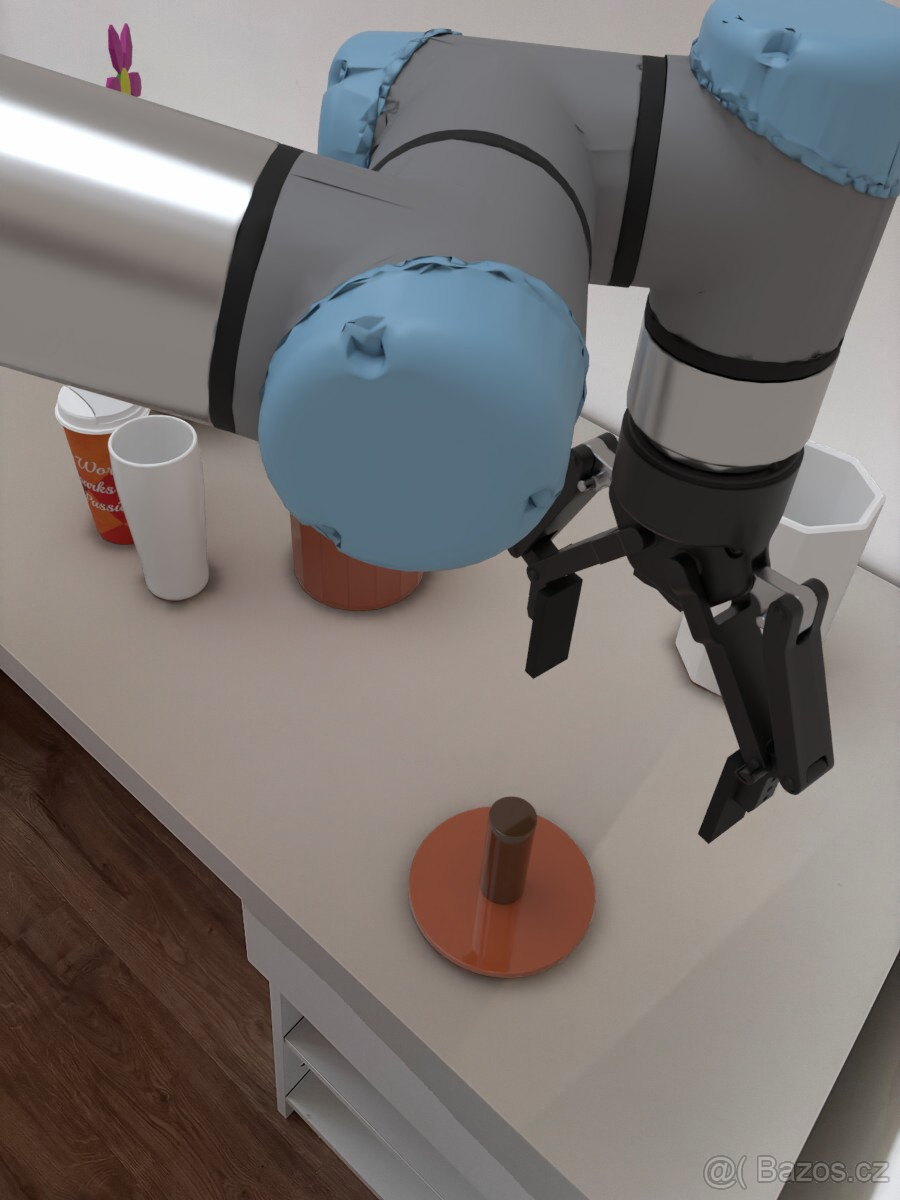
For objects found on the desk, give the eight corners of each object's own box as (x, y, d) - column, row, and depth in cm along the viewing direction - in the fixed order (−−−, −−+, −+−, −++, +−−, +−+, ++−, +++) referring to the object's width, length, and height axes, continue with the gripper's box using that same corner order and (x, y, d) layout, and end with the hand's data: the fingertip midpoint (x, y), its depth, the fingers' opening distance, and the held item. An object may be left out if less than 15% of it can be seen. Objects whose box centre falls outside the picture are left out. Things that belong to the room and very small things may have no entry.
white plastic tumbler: (156, 549, 93) (128, 407, 83) (230, 562, 93) (211, 421, 82) (124, 601, 89) (90, 458, 78) (201, 616, 88) (177, 473, 77)
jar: (267, 567, 92) (258, 482, 86) (356, 506, 99) (354, 422, 92) (363, 631, 88) (362, 545, 81) (450, 562, 94) (456, 477, 87)
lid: (369, 902, 70) (369, 824, 64) (484, 786, 77) (494, 705, 71) (519, 1022, 65) (535, 951, 58) (628, 885, 72) (652, 808, 66)
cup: (839, 676, 87) (921, 500, 74) (739, 729, 82) (807, 553, 69) (744, 593, 93) (804, 418, 80) (647, 638, 89) (694, 461, 76)
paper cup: (66, 528, 95) (30, 396, 85) (131, 486, 99) (104, 356, 90) (128, 565, 92) (98, 433, 82) (191, 519, 96) (170, 389, 87)
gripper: (1042, 555, 38) (854, 866, 53) (576, 273, 52) (531, 584, 67) (922, 642, 35) (757, 949, 50) (456, 315, 48) (436, 634, 63)
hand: (627, 741), depth 58 cm, fingers open, 13 cm apart
